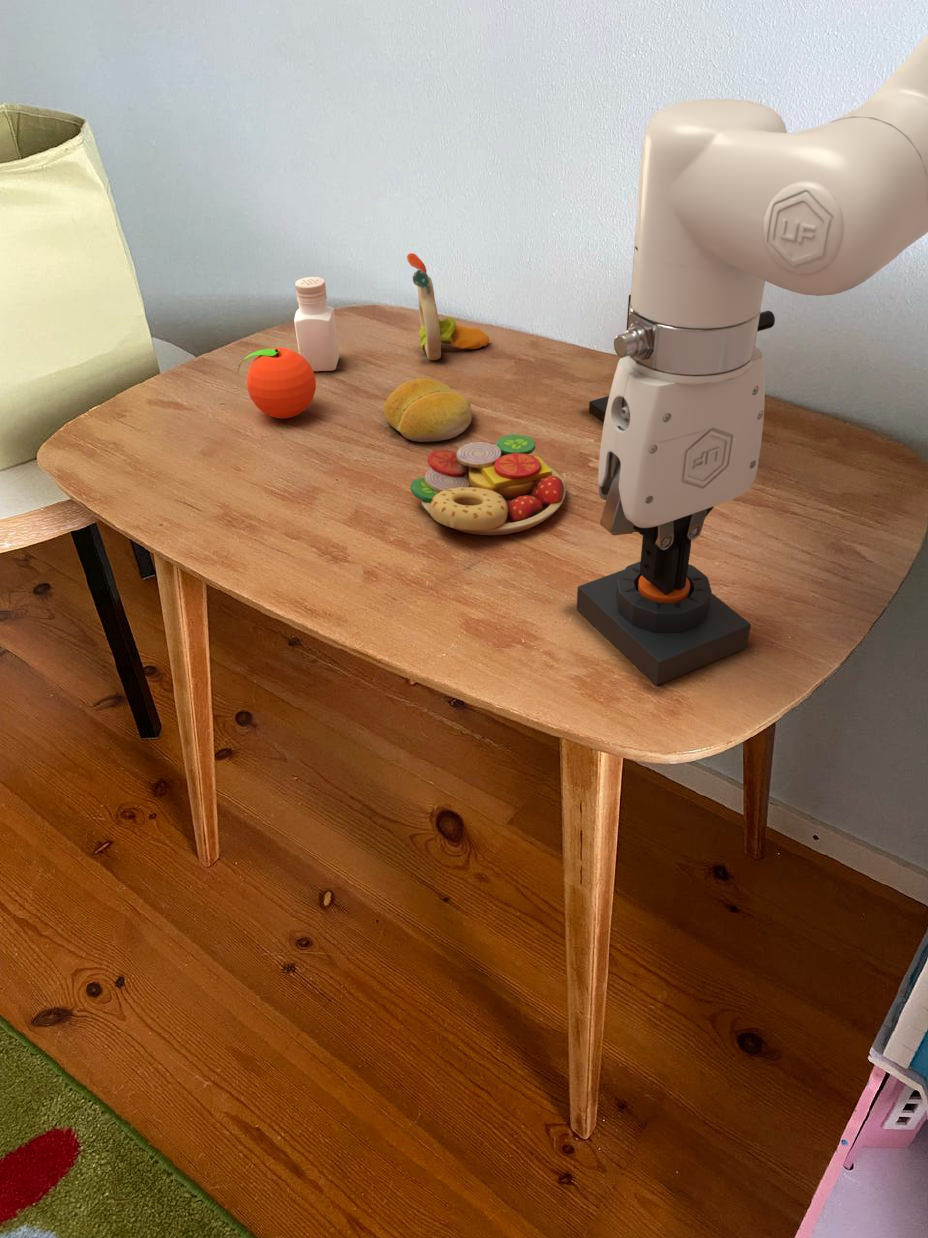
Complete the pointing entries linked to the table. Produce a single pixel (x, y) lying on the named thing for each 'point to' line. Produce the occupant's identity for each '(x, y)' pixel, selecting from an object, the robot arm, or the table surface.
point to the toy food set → (490, 487)
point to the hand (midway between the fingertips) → (662, 581)
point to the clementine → (280, 382)
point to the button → (656, 595)
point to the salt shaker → (316, 325)
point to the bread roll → (427, 411)
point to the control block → (663, 624)
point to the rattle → (435, 329)
